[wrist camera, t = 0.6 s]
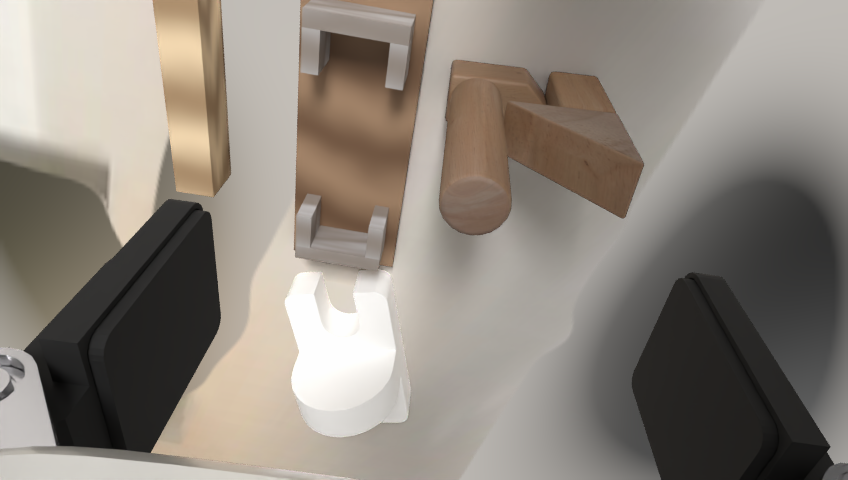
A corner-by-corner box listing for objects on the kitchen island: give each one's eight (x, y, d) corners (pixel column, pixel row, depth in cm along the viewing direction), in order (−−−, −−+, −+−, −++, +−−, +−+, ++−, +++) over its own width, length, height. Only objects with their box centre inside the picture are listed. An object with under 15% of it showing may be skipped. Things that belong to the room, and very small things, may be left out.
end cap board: (305, -41, 38) (287, -30, 35) (435, -17, 39) (431, -4, 35) (296, 243, 52) (283, 273, 48) (393, 260, 52) (386, 291, 48)
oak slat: (176, -34, 40) (149, -24, 36) (219, -27, 40) (196, -16, 36) (196, 168, 49) (176, 191, 45) (231, 174, 49) (213, 197, 45)
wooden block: (585, 121, 43) (642, 260, 29) (446, 104, 43) (430, 234, 29) (599, 74, 41) (667, 198, 26) (452, 56, 41) (439, 170, 27)
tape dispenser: (329, 396, 64) (305, 483, 55) (292, 270, 54) (256, 352, 45) (412, 396, 63) (401, 485, 54) (390, 267, 53) (373, 350, 44)
